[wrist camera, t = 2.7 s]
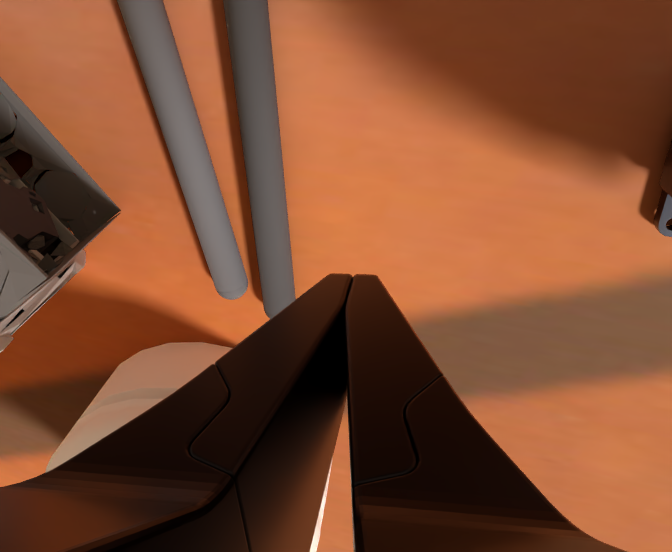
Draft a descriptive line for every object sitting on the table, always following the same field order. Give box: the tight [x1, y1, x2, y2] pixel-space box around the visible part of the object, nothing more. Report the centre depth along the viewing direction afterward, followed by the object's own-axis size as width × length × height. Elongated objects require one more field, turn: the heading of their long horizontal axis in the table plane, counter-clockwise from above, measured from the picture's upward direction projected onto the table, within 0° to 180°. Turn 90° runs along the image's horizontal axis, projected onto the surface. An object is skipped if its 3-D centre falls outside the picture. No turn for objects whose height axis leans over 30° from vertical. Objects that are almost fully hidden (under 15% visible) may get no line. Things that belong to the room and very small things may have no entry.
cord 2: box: [223, 0, 296, 319], centre depth 19 cm, size 1×16×1 cm, turn 2°
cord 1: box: [117, 0, 248, 300], centre depth 19 cm, size 1×15×1 cm, turn 11°
